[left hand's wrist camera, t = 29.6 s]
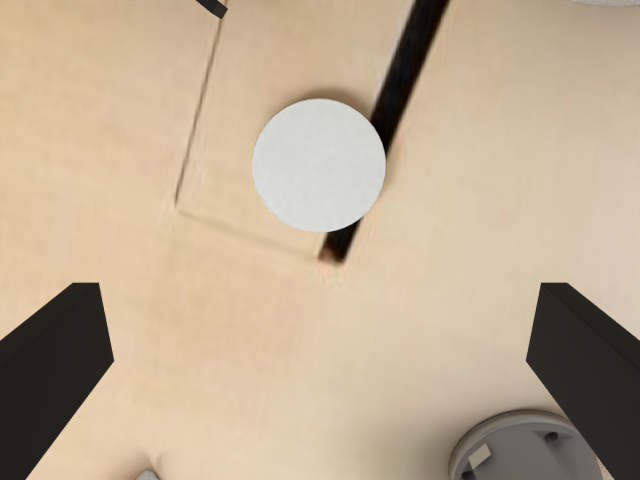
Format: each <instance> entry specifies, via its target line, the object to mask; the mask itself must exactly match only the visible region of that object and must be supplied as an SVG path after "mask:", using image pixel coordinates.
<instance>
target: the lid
mask: <svg viewBox="0 0 640 480" xmlns="http://www.w3.org/2000/svg"><path fill="white" fill-rule="evenodd" d="M252 172H253V179H254V183H255V187H256V189H257V192H258V194H259V196H260V198H261V200H262V201H263V203H264V204H265V206H266V207H267V208H268V209H269V210H270V211H271V212H272V214H273V215H275V216H276V217H277V218H278V219H280V220H281V221H283V222H284V223H286V224H288V225H290V226H292V227H294V228H297V229H300V230H304V231H309V232H329V231H334V230H338V229H341V228H344V227H346V226H348V225H350V224H352V223H354V222H355V221H357V220H358V219H360V218H361V217H362V216H363V215H365V213H366V212H367V211H368V210H369V209H370V208H371V207H372V205H373V204H374V203H375V201H376V199H377V198H378V196H379V194H380V192H381V189H382V187H383V183H384V179H385V172H386V159H385V152H384V149H383V145H382V142H381V140H380V137H379V135H378V134H377V132H376V130H375V129H374V127H373V126H372V125H371V123H370V122H369V121H368V120H367V119H366V118H365V117H364V116H363V115H362V114H361V113H359V112H358V111H357V110H355V109H354V108H352V107H350V106H349V105H347V104H345V103H342V102H339V101H337V100H332V99H326V98H312V99H306V100H301V101H299V102H296V103H293V104H291V105H289V106H287V107H286V108H284V109H283V110H281V111H280V112H278V113H277V114H276V115H275V116H274V117H273V118H272V119H271V120H270V121H269V122H268V123H267V124H266V126H265V127H264V128H263V130H262V132H261V133H260V135H259V137H258V139H257V142H256V145H255V148H254V152H253V158H252Z"/></svg>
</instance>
